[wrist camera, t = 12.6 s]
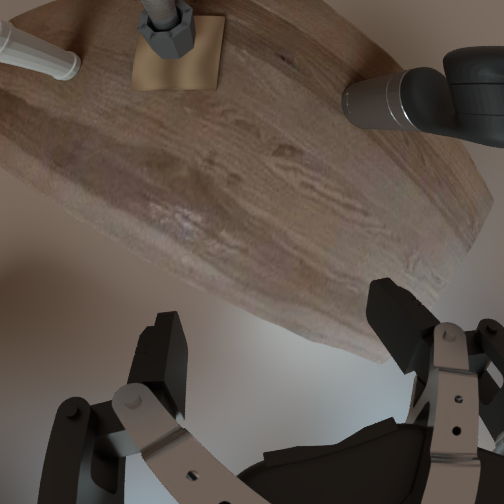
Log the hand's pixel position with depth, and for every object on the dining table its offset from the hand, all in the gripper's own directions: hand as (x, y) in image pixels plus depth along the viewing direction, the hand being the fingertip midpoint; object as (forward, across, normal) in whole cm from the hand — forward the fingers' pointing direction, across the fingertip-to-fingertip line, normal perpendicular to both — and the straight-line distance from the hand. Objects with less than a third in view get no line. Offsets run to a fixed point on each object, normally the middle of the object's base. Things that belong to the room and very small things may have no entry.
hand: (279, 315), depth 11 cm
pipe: (+38, +26, -26) cm, 53 cm away
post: (+38, +6, -23) cm, 45 cm away
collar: (+32, +6, -23) cm, 40 cm away
